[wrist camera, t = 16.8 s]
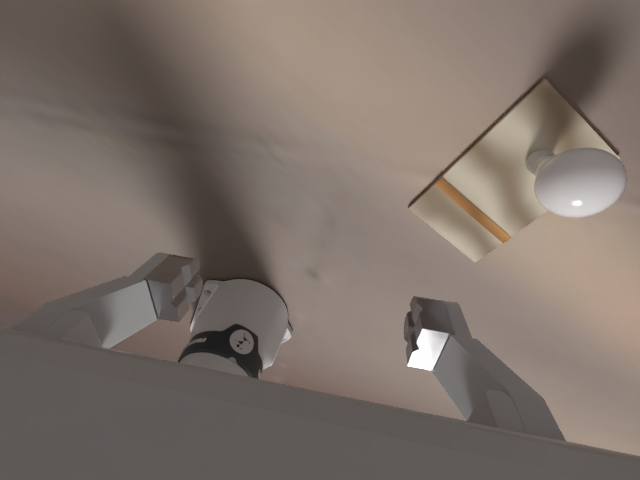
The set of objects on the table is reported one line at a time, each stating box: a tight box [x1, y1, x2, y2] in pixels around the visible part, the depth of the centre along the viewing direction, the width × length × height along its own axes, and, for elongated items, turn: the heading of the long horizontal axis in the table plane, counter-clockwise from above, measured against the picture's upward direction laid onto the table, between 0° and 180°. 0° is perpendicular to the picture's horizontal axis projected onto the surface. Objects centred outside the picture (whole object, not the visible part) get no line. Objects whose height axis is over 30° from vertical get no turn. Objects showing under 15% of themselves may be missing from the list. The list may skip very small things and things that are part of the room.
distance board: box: [409, 79, 620, 262], centre depth 35 cm, size 19×13×1 cm
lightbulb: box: [526, 147, 627, 218], centre depth 29 cm, size 6×6×11 cm
